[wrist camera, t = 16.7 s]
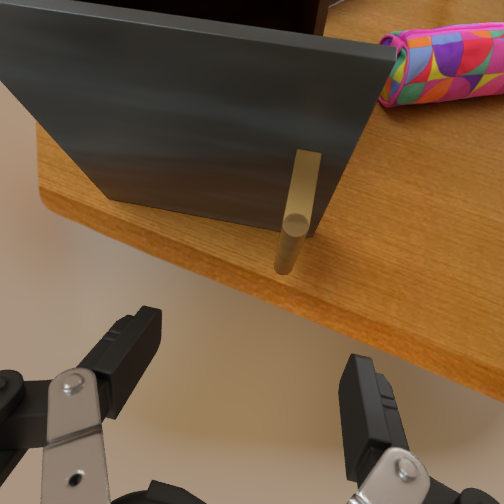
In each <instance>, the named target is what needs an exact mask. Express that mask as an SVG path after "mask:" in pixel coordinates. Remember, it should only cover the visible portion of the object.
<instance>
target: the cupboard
mask: <svg viewBox="0 0 504 504" xmlns="http://www.w3.org/2000/svg"><path fill="white" fill-rule="evenodd" d="M74 1H81V2H88V3H94V4H101V5H108V6H115V7H122V8H129V9H136V10H143V11H150V12H157V13H164V14H171V15H178V16H185V17H192V18H199V19H206V20H212V21H219V22H226V23H233V24H240V25H247V26H254V27H261V28H268V29H275V30H282V31H289V32H296V33H303V34H310V35H317V36H323V32H324V28H325V23H326V18H327V14H328V9H329V4H330V0H74Z"/></svg>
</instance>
